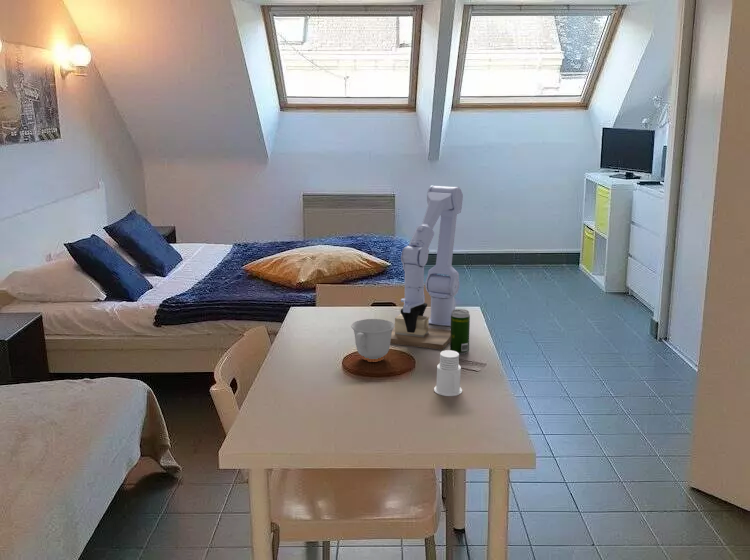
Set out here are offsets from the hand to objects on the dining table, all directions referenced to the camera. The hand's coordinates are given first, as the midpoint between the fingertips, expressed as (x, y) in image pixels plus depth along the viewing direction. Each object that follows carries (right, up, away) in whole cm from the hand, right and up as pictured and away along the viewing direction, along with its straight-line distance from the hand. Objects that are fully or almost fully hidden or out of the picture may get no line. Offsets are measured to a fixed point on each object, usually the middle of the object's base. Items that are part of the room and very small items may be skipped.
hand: (413, 329), depth 220 cm
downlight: (+6, -13, -39) cm, 42 cm away
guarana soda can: (+12, -6, -11) cm, 18 cm away
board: (+1, -3, 0) cm, 3 cm away
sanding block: (-1, -1, +1) cm, 1 cm away
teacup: (-13, -8, -18) cm, 24 cm away
